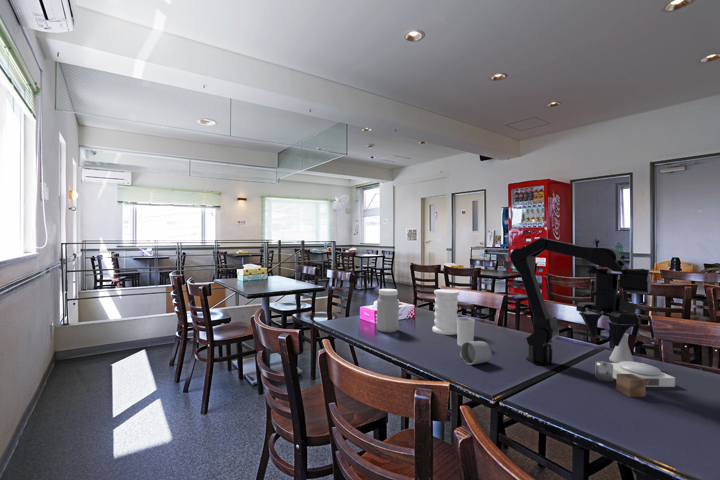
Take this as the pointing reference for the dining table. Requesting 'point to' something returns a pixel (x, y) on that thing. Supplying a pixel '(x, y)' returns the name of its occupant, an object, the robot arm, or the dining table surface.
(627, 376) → the walnut block
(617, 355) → the flask
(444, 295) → the decorative container
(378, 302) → the jar
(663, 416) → the dining table surface
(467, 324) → the drinking glass
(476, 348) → the ceramic mug
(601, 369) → the steel weight with knob
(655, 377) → the kitchen scale
